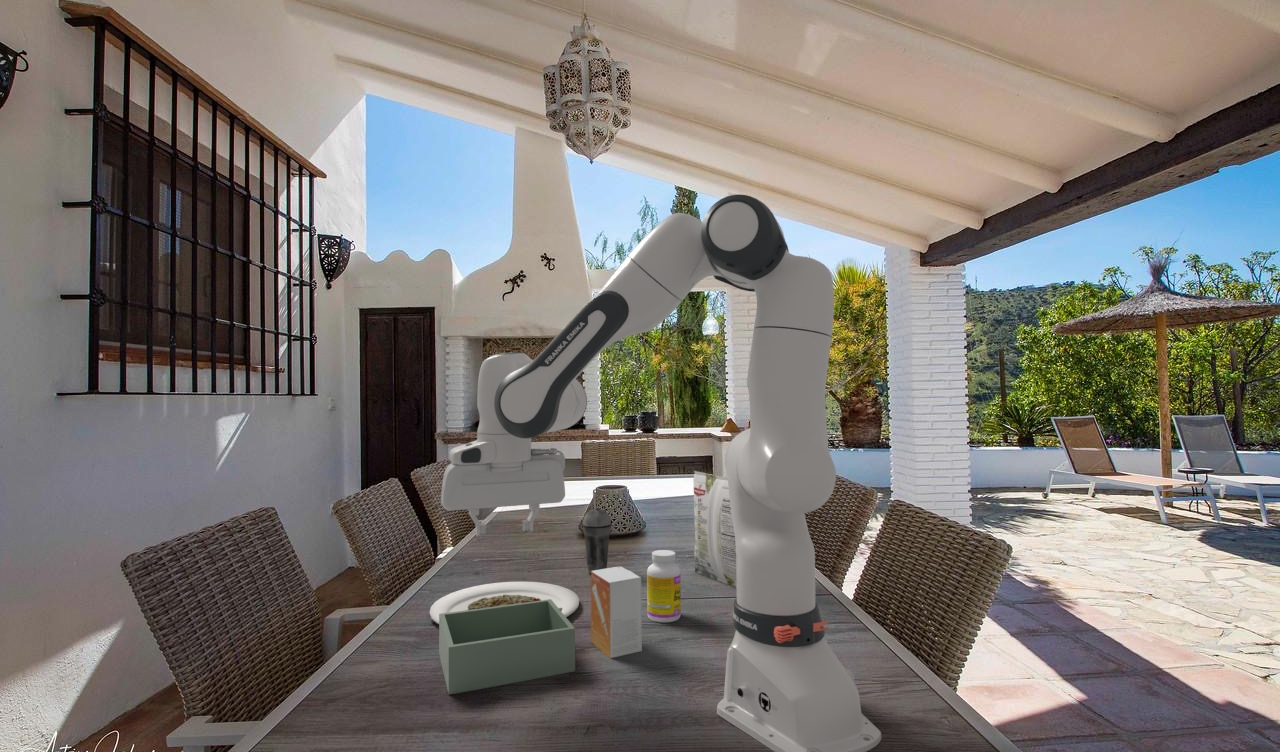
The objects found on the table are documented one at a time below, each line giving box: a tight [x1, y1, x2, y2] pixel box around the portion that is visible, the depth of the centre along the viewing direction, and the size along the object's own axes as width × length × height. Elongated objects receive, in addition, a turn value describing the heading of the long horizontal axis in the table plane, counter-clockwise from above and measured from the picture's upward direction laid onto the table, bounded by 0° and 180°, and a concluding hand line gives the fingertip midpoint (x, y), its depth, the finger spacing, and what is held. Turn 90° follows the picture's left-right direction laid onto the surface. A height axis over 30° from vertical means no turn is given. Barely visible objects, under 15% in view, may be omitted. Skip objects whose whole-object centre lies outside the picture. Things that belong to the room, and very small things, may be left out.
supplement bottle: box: [646, 549, 682, 624], centre depth 129 cm, size 7×7×13 cm
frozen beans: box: [692, 470, 737, 588], centre depth 152 cm, size 21×6×25 cm, turn 32°
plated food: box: [429, 581, 580, 625], centre depth 134 cm, size 30×30×3 cm
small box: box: [590, 566, 643, 659], centre depth 114 cm, size 8×6×13 cm
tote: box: [438, 599, 576, 696], centre depth 108 cm, size 16×20×7 cm
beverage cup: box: [581, 490, 612, 574], centre depth 161 cm, size 7×7×20 cm
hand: (504, 533), depth 108 cm, fingers open, 6 cm apart
